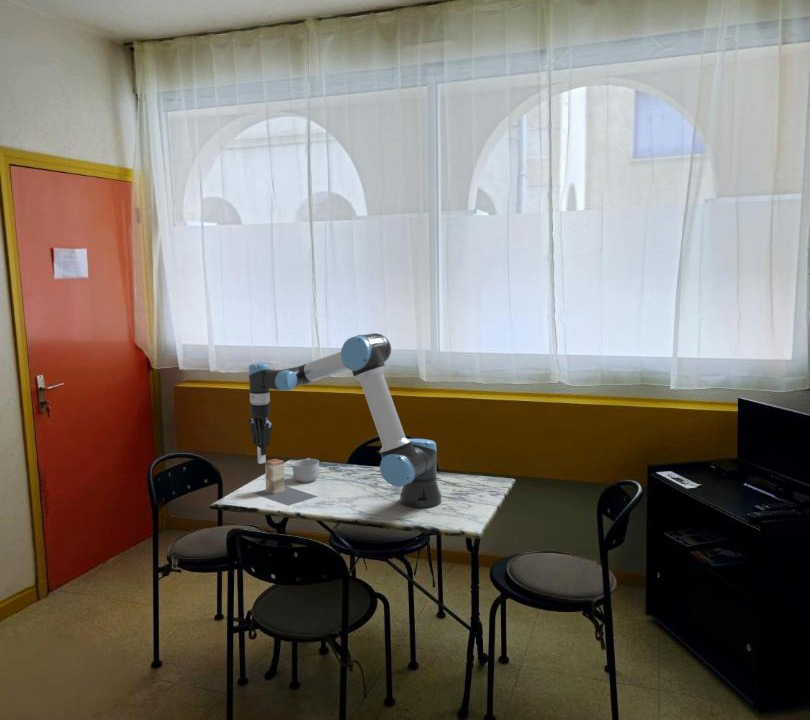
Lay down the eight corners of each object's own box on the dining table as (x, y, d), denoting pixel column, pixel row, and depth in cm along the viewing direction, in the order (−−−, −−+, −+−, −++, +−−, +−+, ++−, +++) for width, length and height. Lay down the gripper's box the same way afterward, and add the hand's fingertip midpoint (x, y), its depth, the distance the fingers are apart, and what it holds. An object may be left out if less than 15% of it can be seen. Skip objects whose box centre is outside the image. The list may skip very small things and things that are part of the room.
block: (284, 491, 262) (283, 460, 260) (273, 494, 258) (273, 463, 257) (276, 488, 265) (275, 458, 264) (266, 491, 261) (265, 461, 260)
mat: (318, 497, 255) (318, 496, 255) (288, 506, 245) (288, 505, 245) (282, 485, 270) (282, 484, 270) (252, 494, 260) (252, 493, 260)
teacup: (314, 485, 270) (314, 465, 270) (288, 484, 272) (288, 464, 271) (325, 475, 284) (324, 457, 283) (300, 474, 286) (299, 456, 285)
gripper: (242, 402, 265) (244, 461, 268) (261, 406, 256) (263, 467, 259) (258, 400, 270) (260, 458, 273) (278, 403, 262) (279, 463, 264)
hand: (261, 462), depth 266 cm, fingers closed
